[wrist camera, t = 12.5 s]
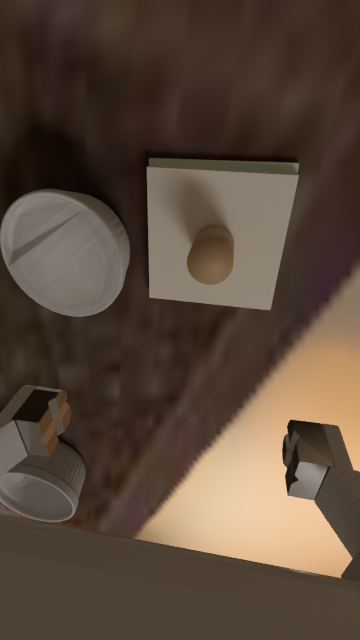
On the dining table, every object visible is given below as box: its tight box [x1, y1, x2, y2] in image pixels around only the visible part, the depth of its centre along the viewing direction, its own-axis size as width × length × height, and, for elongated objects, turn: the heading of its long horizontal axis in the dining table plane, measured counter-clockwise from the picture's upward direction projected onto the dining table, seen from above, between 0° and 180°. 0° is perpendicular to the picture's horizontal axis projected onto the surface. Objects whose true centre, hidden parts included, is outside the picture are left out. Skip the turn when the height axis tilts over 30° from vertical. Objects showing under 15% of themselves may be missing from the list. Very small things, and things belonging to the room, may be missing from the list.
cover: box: [147, 166, 299, 310], centre depth 26 cm, size 12×12×5 cm
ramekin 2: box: [0, 442, 85, 522], centre depth 50 cm, size 13×13×7 cm
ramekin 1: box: [0, 189, 130, 317], centre depth 29 cm, size 11×11×5 cm
